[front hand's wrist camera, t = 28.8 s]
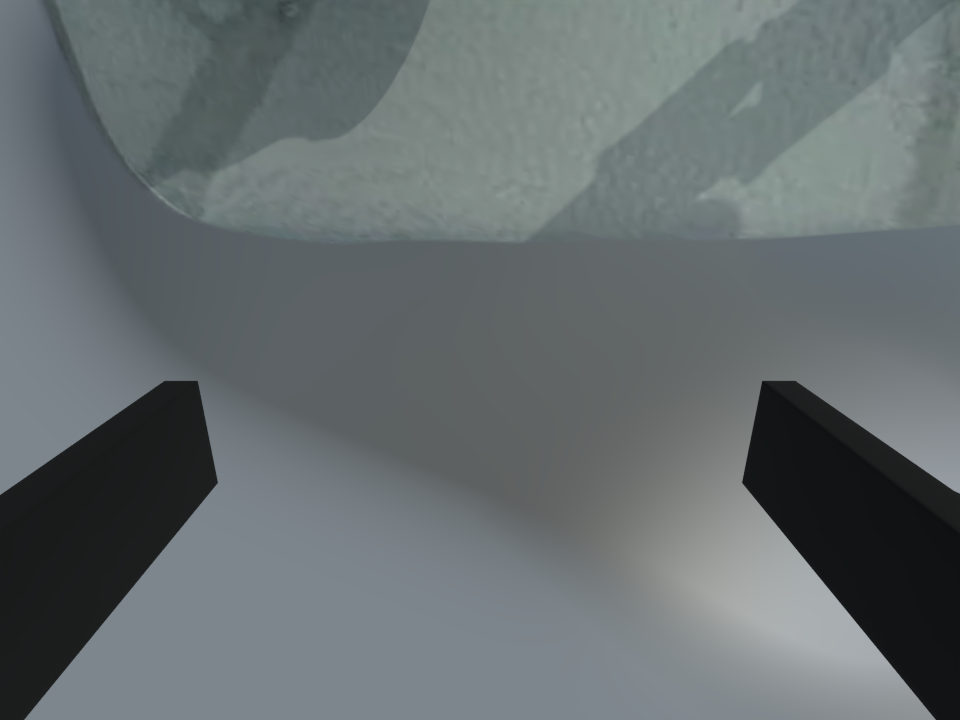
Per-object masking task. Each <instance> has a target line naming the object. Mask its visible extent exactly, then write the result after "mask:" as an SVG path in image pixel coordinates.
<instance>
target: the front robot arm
mask: <svg viewBox="0 0 960 720" xmlns="http://www.w3.org/2000/svg"><path fill="white" fill-rule="evenodd" d="M217 483H218V481H217V476H216V471H215V466H214V461H213V456H212V451H211V446H210V441H209V436H208V431H207V426H206V421H205V416H204V411H203V406H202V401H201V395H200V390H199V386H198V381H164V382H163V383H161V384H160V385H158V386H157V387H155V388H154V389H152V390H151V391H150V392H148V393H147V394H145V395H144V396H142V397H141V398H139V399H138V400H137V401H135V402H134V403H132V404H131V405H129V406H128V407H127V408H125V409H124V410H122V411H121V412H119V413H118V414H116V415H115V416H114V417H112V418H111V419H109V420H108V421H106V422H105V423H103V424H102V425H101V426H99V427H98V428H96V429H95V430H93V431H92V432H90V433H89V434H88V435H86V436H85V437H83V438H82V439H80V440H79V441H78V442H76V443H75V444H73V445H72V446H70V447H69V448H67V449H66V450H65V451H63V452H62V453H60V454H59V455H57V456H56V457H54V458H53V459H52V460H50V461H49V462H47V463H46V464H44V465H43V466H42V467H40V468H39V469H37V470H36V471H34V472H33V473H31V474H30V475H29V476H27V477H26V478H24V479H23V480H21V481H20V482H18V483H17V484H16V485H14V486H13V487H11V488H10V489H8V490H7V491H5V492H4V493H3V494H1V495H0V720H24V719H25V718H26V717H27V715H28V714H29V713H30V712H31V711H32V709H33V708H34V707H35V706H36V704H37V703H38V702H39V701H40V700H41V698H42V697H43V696H44V695H45V694H46V692H47V691H48V690H49V689H50V687H51V686H52V685H53V684H54V683H55V681H56V680H57V679H58V678H59V676H60V675H61V674H62V673H63V671H64V670H65V669H66V668H67V667H68V665H69V664H70V663H71V662H72V661H73V659H74V658H75V657H76V656H77V654H78V653H79V652H80V651H81V650H82V648H83V647H84V646H85V645H86V643H87V642H88V641H89V640H90V639H91V637H92V636H93V635H94V634H95V632H96V631H97V630H98V629H99V627H100V626H101V625H102V624H103V623H104V621H105V620H106V619H107V618H108V616H109V615H110V614H111V613H112V612H113V610H114V609H115V608H116V607H117V605H118V604H119V603H120V602H121V601H122V599H123V598H124V597H125V596H126V594H127V593H128V592H129V591H130V590H131V588H132V587H133V586H134V585H135V583H136V582H137V581H138V580H139V579H140V577H141V576H142V575H143V574H144V572H145V571H146V570H147V569H148V568H149V566H150V565H151V564H152V563H153V561H154V560H155V559H156V558H157V557H158V555H159V554H160V553H161V552H162V550H163V549H164V548H165V547H166V546H167V544H168V543H169V542H170V541H171V539H172V538H173V537H174V536H175V535H176V533H177V532H178V531H179V530H180V528H181V527H182V526H183V525H184V524H185V522H186V521H187V520H188V519H189V517H190V516H191V515H192V514H193V513H194V511H195V510H196V509H197V508H198V506H199V505H200V504H201V503H202V502H203V500H204V499H205V498H206V497H207V495H208V494H209V493H210V492H211V491H212V489H213V488H214V487H215V486H216V484H217ZM742 483H743V484H744V486H745V487H746V488H747V489H748V491H749V492H750V493H751V494H752V495H753V497H754V498H755V499H756V500H757V502H758V503H759V504H760V505H761V506H762V508H763V509H764V510H765V511H766V513H767V514H768V515H769V516H770V517H771V519H772V520H773V521H774V522H775V524H776V525H777V526H778V527H779V528H780V530H781V531H782V532H783V533H784V535H785V536H786V537H787V538H788V539H789V541H790V542H791V543H792V544H793V546H794V547H795V548H796V549H797V550H798V552H799V553H800V554H801V555H802V557H803V558H804V559H805V560H806V561H807V563H808V564H809V565H810V566H811V568H812V569H813V570H814V571H815V572H816V574H817V575H818V576H819V577H820V579H821V580H822V581H823V582H824V583H825V585H826V586H827V587H828V588H829V590H830V591H831V592H832V593H833V594H834V596H835V597H836V598H837V599H838V601H839V602H840V603H841V604H842V605H843V607H844V608H845V609H846V610H847V612H848V613H849V614H850V615H851V617H852V618H853V619H854V620H855V621H856V623H857V624H858V625H859V626H860V628H861V629H862V630H863V631H864V632H865V633H866V635H867V636H868V637H869V638H870V640H871V641H872V642H873V643H874V645H875V646H876V647H877V648H878V649H879V651H880V652H881V653H882V654H883V656H884V657H885V658H886V659H887V660H888V662H889V663H890V664H891V665H892V667H893V668H894V669H895V670H896V672H897V673H898V674H899V675H900V676H901V678H902V679H903V680H904V681H905V683H906V684H907V685H908V686H909V687H910V689H911V690H912V691H913V692H914V694H915V695H916V696H917V697H918V698H919V700H920V701H921V702H922V703H923V705H924V706H925V707H926V708H927V709H928V711H929V712H930V713H931V714H932V716H933V717H934V718H935V719H936V720H960V494H959V493H957V492H955V491H953V490H952V489H950V488H949V487H947V486H946V485H944V484H943V483H942V482H940V481H939V480H937V479H936V478H934V477H933V476H931V475H930V474H929V473H927V472H926V471H924V470H923V469H921V468H920V467H919V466H917V465H916V464H914V463H913V462H911V461H910V460H908V459H907V458H906V457H904V456H903V455H901V454H900V453H898V452H897V451H895V450H894V449H893V448H891V447H890V446H888V445H887V444H885V443H884V442H882V441H881V440H880V439H878V438H877V437H875V436H874V435H872V434H871V433H869V432H868V431H867V430H865V429H864V428H862V427H861V426H859V425H858V424H857V423H855V422H854V421H852V420H851V419H849V418H848V417H846V416H845V415H844V414H842V413H841V412H839V411H838V410H836V409H835V408H833V407H832V406H831V405H829V404H828V403H826V402H825V401H823V400H822V399H820V398H819V397H818V396H816V395H815V394H813V393H812V392H810V391H809V390H807V389H806V388H805V387H803V386H802V385H800V384H799V383H797V382H796V381H762V386H761V390H760V395H759V401H758V406H757V411H756V416H755V421H754V426H753V431H752V436H751V441H750V446H749V451H748V456H747V461H746V466H745V471H744V476H743V481H742Z"/></svg>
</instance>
